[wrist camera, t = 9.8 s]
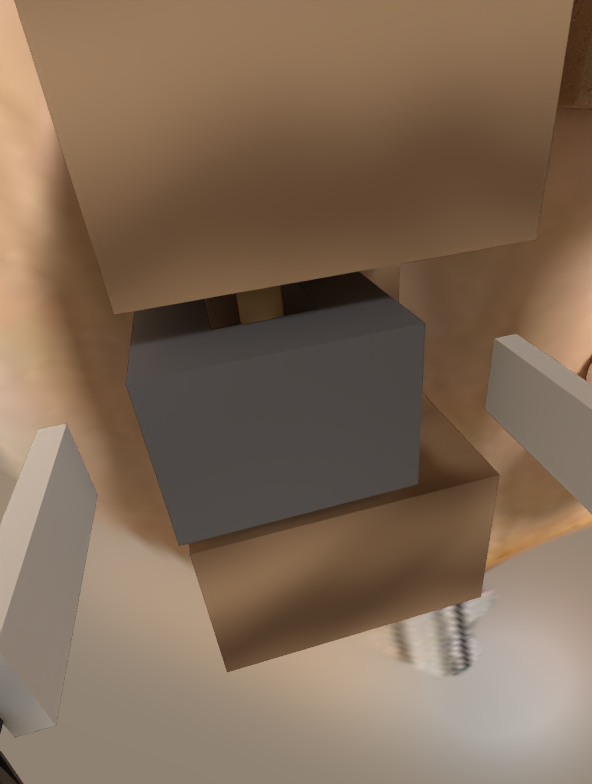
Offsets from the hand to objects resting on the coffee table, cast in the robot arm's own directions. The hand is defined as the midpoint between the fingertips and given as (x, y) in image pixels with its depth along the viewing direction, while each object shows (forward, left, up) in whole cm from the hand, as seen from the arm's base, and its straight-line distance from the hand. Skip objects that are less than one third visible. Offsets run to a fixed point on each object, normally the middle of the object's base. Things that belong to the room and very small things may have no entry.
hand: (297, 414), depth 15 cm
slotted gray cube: (0, 0, -9) cm, 9 cm away
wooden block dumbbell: (0, +2, -11) cm, 11 cm away
